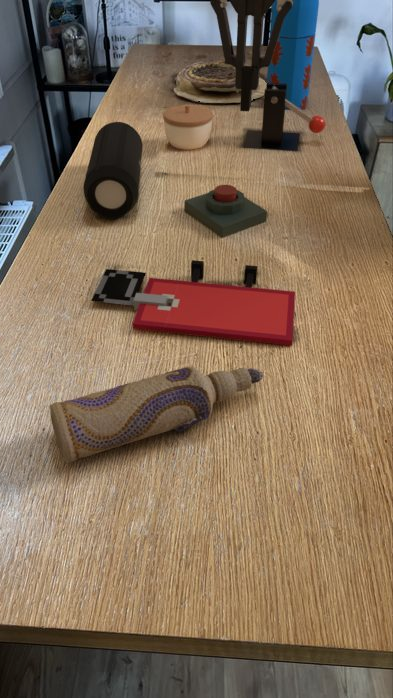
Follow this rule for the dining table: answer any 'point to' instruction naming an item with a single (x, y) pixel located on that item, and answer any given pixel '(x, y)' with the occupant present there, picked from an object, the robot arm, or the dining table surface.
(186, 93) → the pie
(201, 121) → the trinket box
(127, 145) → the portable speaker
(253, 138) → the bracket
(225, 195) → the button
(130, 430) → the decorative bottle
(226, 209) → the button box
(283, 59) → the thermos
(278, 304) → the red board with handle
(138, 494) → the dining table surface
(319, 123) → the lever
